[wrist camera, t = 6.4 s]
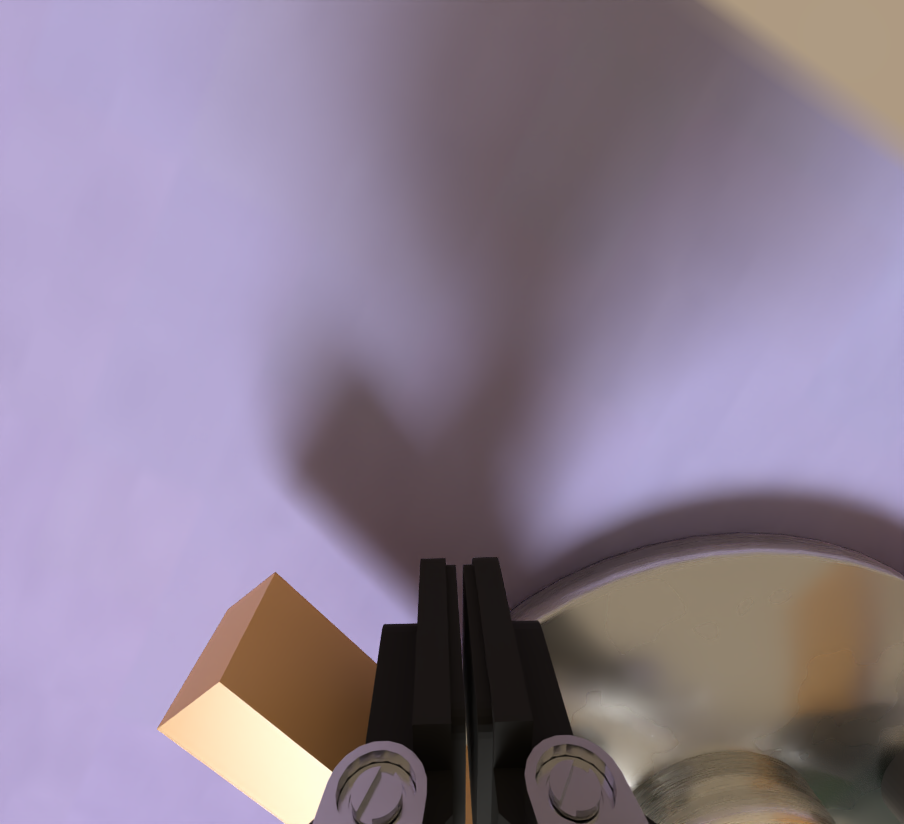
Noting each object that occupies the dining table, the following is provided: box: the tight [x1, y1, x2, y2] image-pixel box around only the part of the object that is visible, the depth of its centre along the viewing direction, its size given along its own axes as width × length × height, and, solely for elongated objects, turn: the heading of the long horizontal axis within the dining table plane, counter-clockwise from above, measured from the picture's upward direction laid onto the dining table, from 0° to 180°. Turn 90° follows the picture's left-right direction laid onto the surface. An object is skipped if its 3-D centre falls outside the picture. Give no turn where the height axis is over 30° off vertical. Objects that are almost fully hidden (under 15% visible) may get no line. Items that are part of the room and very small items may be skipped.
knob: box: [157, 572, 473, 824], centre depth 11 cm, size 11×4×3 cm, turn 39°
